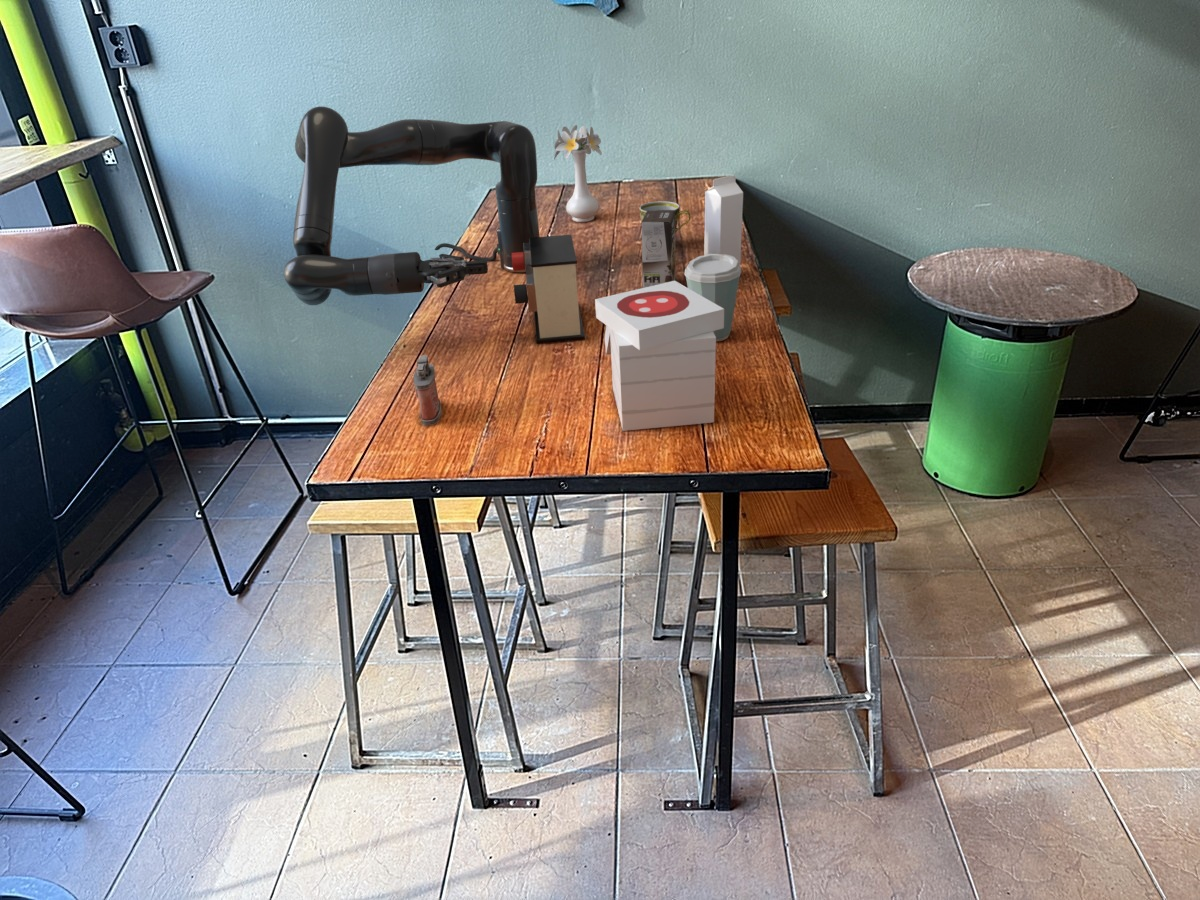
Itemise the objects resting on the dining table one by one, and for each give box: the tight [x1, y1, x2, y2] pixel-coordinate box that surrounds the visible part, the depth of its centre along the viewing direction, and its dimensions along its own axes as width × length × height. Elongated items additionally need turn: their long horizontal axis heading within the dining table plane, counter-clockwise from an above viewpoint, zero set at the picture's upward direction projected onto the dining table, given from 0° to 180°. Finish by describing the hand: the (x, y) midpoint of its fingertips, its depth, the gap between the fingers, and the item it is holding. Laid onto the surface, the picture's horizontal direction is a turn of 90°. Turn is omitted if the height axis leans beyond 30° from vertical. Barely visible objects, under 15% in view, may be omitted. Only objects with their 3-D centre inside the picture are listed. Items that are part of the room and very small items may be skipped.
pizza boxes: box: [594, 280, 724, 432], centre depth 139 cm, size 19×30×18 cm, turn 5°
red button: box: [512, 252, 525, 271], centre depth 167 cm, size 2×4×4 cm, turn 6°
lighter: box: [412, 354, 442, 426], centre depth 138 cm, size 8×3×10 cm, turn 5°
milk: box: [703, 174, 744, 266], centre depth 184 cm, size 6×6×22 cm
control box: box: [523, 234, 586, 345], centre depth 166 cm, size 10×18×16 cm, turn 6°
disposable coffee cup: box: [683, 254, 743, 343], centre depth 158 cm, size 11×11×15 cm
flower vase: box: [553, 124, 603, 223], centre depth 227 cm, size 13×18×25 cm
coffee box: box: [641, 210, 676, 288], centre depth 181 cm, size 9×6×16 cm
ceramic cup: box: [639, 200, 692, 235], centre depth 206 cm, size 13×10×10 cm
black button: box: [513, 283, 528, 305], centre depth 161 cm, size 2×4×4 cm, turn 6°
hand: (487, 266), depth 158 cm, fingers closed
